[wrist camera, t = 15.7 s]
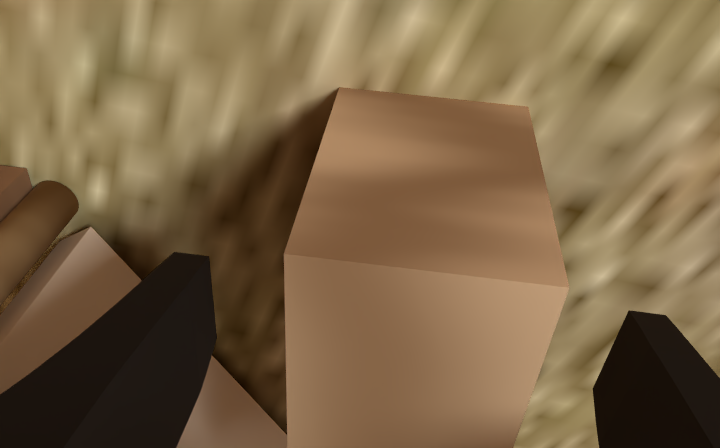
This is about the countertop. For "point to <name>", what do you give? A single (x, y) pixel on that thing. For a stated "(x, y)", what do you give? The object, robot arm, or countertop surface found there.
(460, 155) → the block
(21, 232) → the brown slab
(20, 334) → the door
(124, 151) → the countertop surface
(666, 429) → the robot arm
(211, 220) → the countertop surface
